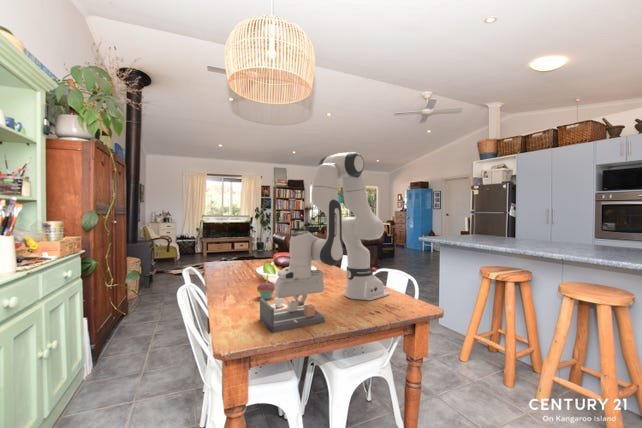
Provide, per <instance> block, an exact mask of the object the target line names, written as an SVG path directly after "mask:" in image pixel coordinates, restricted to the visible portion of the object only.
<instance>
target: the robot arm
mask: <svg viewBox="0 0 642 428" xmlns="http://www.w3.org/2000/svg"><path fill="white" fill-rule="evenodd" d="M364 167H365V161H364V158H363V157H362V155H361V154H360V153H359V152H356V151H350V152H339V153H336V154H330V155H326V156H324V157H322V158H321V159H320V161H319V164H318V167H317V168H316V171H315V174H314V177H313V182H312V189H311V202H312V203H313V205H314V206H315V207H316V208H317V209H318V210H320V211H322V213H324V215H325V217H326V238H319V237H317V236H315V235H314V234H312V233H311V232H310V231H308V230H298V231H295V232H293V233H292V234H291V236H290V239H289V250H288V251H289V257H290V260H289V266H288V267H285V268H283V269H281V270H278V271H277V276H278V278H277V279H276V282H275V285H274V286H275V291H274V294H275V296H276V298H277V297H278V298H283V299H284V298H291V297H293V300H296V301H297V302H298V307H304V305H305V301H306V300H307V297H308V295H312V294H318V293H323V291H324V290H325V284H324V272H323V271H322V270H320V269H312V261H315V262H317V263H322V264H325V265H326V266H330V267H334V266H336V265H338V264H339V263H340V262H341V261H342V259H343V258H344V245H345V248H346V249H345V250H346V255H347V258H346V259H347V266H346V284H345V290H344V294H343V295H344V296H345V297H347V299H348V298H349V299H353V300H361V301H362V300H363V301H373V300H376V299H379V298H383V297H387V296H389V291H387V290H385V286H384V283H383V282H382V280H380V278H378V277H377V276H376V275H374V273H376V272H377V267H371V253H370V252H371V251H370V250H369V249H368V248H367V247H366V246H365V245H364V244H363V242H362V240H367V241H372V240H378V239H379V240H380V239H381V237H383V235H384V233H385V225H384V222H383V221H382V220H381V219H380V218H379V217H378V216H376V214H374V212H373V210H372V209H371V207H370V204H369V200H368V194H367V185H366V180H365V175H364V172H363V171H364ZM340 179H342V193H343V202H344V206H345V208H346V209H347V210H349V211H350V212H352V214H353V215H354V216H344V217H343V215H342V213H343V211H342V206H341V203H340V202H339V194H338V193H339V186H340V185H339V184H340V183H339V181H340ZM343 243H344V245H343ZM373 272H374V273H373ZM299 296H301V299H300V300H299V298H300V297H299Z"/></svg>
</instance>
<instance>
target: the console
mask: <svg viewBox="0 0 642 428" xmlns="http://www.w3.org/2000/svg"><path fill="white" fill-rule="evenodd" d="M270 305H271V304H269V303H268V302H267V301H266V299H263V298H261V297H260V298H259V320H260V321H261V323H263V325H264V326H265V327H266V329H268V331H269V332H270V333H276V332H281V331H285V330H290V329H291V330H292V329H296V328H300V327H306V326H310V325H316V324H321V323H325V321H326V320H325V319H326V318H325V316H324V315H323V314H322V313H320V312H319V311H317V310H316V309H315V316H311V317H307V316H305V315H304V306H298V311H293V312H290V311H289V310H288V308H285V309H282V310H274V309H273V308H272V307H271V306H270Z"/></svg>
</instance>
